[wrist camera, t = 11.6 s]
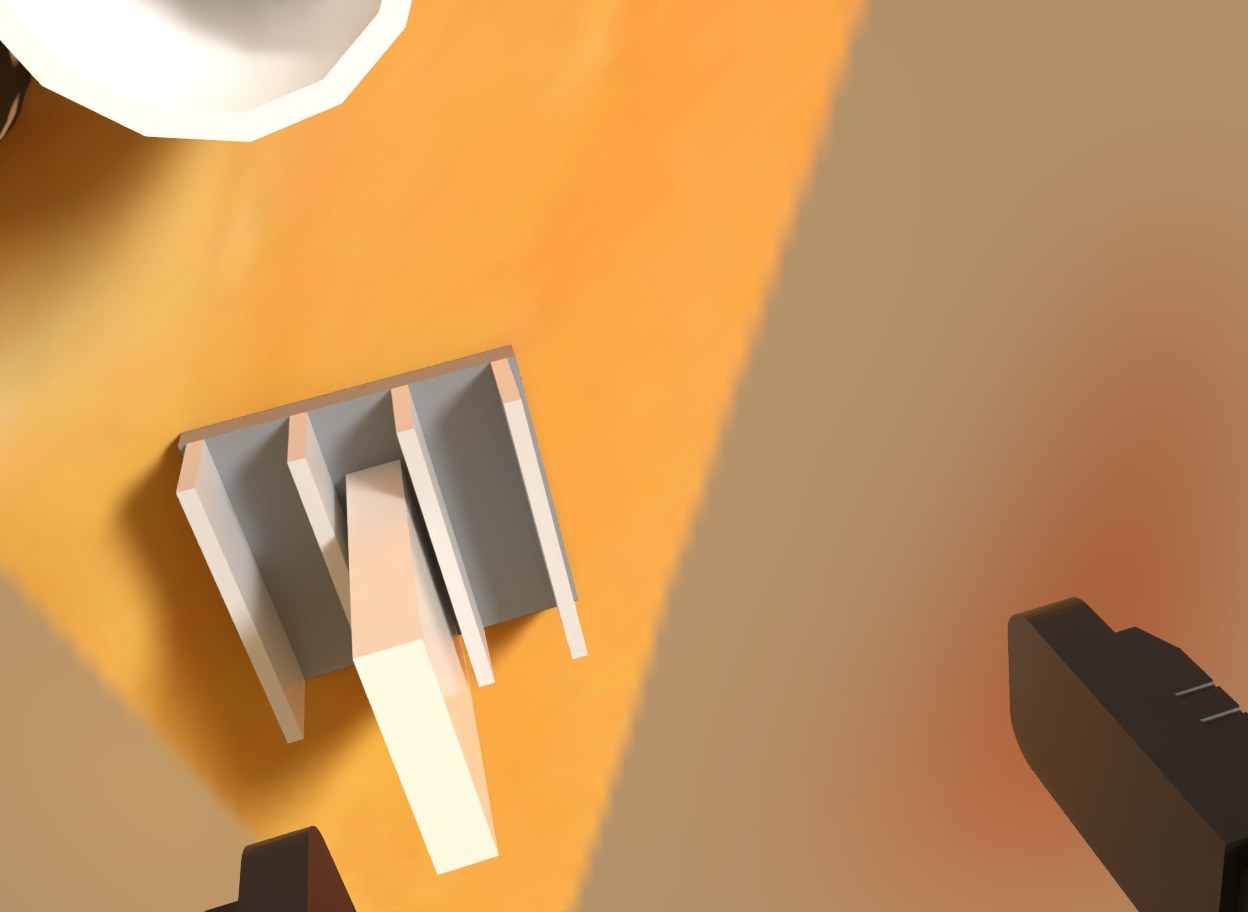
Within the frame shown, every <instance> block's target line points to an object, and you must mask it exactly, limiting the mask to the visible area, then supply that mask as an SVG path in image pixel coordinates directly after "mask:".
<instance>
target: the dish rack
mask: <svg viewBox="0 0 1248 912" xmlns="http://www.w3.org/2000/svg"><path fill="white" fill-rule="evenodd" d="M178 447H179V450H180V452H181V454H182V457H183V463H182V467H181V472H180V477H179V481H178V486H177V490H176V494H177V497H178V499H179V501H180V503H181V506H182V508H183V510H184V512H185V514H186V517H187V519H188V521H189V523H190V526H191V528H192V530H193V532H194V535H195V537H196V539H197V541H198V544H199V546H200V548H201V550H202V553H203V555H204V557H205V559H206V561H207V564H208V566H209V568H210V570H211V573H212V575H213V577H214V579H215V582H216V584H217V586H218V588H219V591H220V593H221V595H222V597H223V600H224V602H225V604H226V606H227V609H228V611H229V613H230V615H231V617H232V620H233V622H234V624H235V626H236V629H237V631H238V633H239V635H240V638H241V640H242V642H243V644H244V647H245V649H246V651H247V653H248V656H249V658H250V660H251V662H252V665H253V667H254V669H255V671H256V673H257V676H258V678H259V680H260V682H261V685H262V687H263V689H264V691H265V694H266V696H267V698H268V700H269V703H270V705H271V707H272V709H273V712H274V714H275V716H276V718H277V721H278V723H279V725H280V727H281V729H282V732H283V734H284V736H285V738H286V741H287V743H288V744H289V743H292V742H295V741H299V740H302V739H304V715H305V680H306V679H309V678H312V677H316V676H319V675H323V674H326V673H330V672H333V671H336V670H340V669H343V668H347V667H350V666H354V665H355V664H354V661H353V655H352V628H351V601H350V575H349V548H348V522H347V495H346V474H349V473H353V472H357V471H360V470H364V469H367V468H371V467H375V466H378V465H382V464H385V463H389V462H393V461H396V460H400V461H401V464H402V467H403V470H404V473H405V476H406V479H407V482H408V485H409V488H410V491H411V494H412V497H413V500H414V503H415V506H416V509H417V512H418V515H419V518H420V521H421V524H422V527H423V530H424V533H425V536H426V539H427V542H428V545H429V548H430V551H431V554H432V557H433V560H434V563H435V566H436V569H437V572H438V575H439V578H440V581H441V584H442V587H443V590H444V593H445V596H446V600H447V603H448V606H449V609H450V612H451V615H452V618H453V621H454V624H455V627H456V630H457V633H458V635H460V634H462V636H463V639H464V642H465V645H466V648H467V651H468V654H469V657H470V660H471V663H472V667H473V670H474V673H475V676H476V679H477V682H478V685H479V687H481V686H484V685H488V684H491V683H494V682H495V681H494V676H493V671H492V666H491V661H490V656H489V651H488V646H487V641H486V636H485V631H484V627H488V626H491V625H494V624H498V623H501V622H505V621H508V620H512V619H515V618H518V617H522V616H525V615H529V614H532V613H536V612H539V611H543V610H546V609H549V608H553V607H556V606H557V610H558V613H559V616H560V620H561V623H562V626H563V629H564V633H565V636H566V639H567V643H568V646H569V649H570V653H571V656H572V659H575V658H579V657H582V656H586V655H588V653H587V650H586V646H585V642H584V638H583V634H582V630H581V627H580V623H579V619H578V615H577V611H576V607H575V604H574V601H577V600H578V597H577V593H576V590H575V586H574V582H573V578H572V574H571V570H570V566H569V562H568V559H567V555H566V551H565V547H564V543H563V539H562V535H561V532H560V528H559V524H558V520H557V516H556V512H555V508H554V504H553V501H552V497H551V493H550V489H549V485H548V481H547V477H546V473H545V470H544V466H543V462H542V458H541V454H540V450H539V446H538V443H537V439H536V435H535V431H534V427H533V423H532V419H531V415H530V412H529V408H528V404H527V400H526V396H525V392H524V388H523V384H522V381H521V377H520V373H519V369H518V365H517V361H516V357H515V354H514V351H513V349H512V346H511V345H510V346H506V347H502V348H499V349H495V350H491V351H487V352H484V353H480V354H476V355H472V356H469V357H465V358H461V359H457V360H454V361H450V362H446V363H442V364H439V365H435V366H431V367H427V368H424V369H420V370H416V371H412V372H409V373H405V374H401V375H398V376H394V377H390V378H386V379H383V380H379V381H375V382H371V383H368V384H364V385H360V386H356V387H353V388H349V389H345V390H341V391H338V392H334V393H330V394H326V395H323V396H319V397H315V398H311V399H308V400H304V401H300V402H296V403H293V404H289V405H285V406H281V407H278V408H274V409H270V410H266V411H263V412H259V413H255V414H251V415H248V416H244V417H240V418H236V419H233V420H229V421H225V422H222V423H218V424H214V425H210V426H207V427H203V428H199V429H195V430H192V431H188V432H184V433H181V435H180V439H179V444H178Z"/></svg>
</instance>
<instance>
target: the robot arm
mask: <svg viewBox="0 0 1248 912" xmlns="http://www.w3.org/2000/svg"><path fill="white" fill-rule="evenodd" d="M1008 650H1009V651H1008V654H1009V684H1010V685H1009V686H1010V712H1011V721H1012V726H1013V730H1014V733H1015V736H1016V739H1017V742H1018V744H1019V747H1020V749H1021V751H1022V753H1023V755H1024V757H1025V759H1026V761H1027V763H1028V764H1029V766H1030V767H1031V769H1032V770H1033V771H1034V773H1035V774H1036V775H1037V777H1038V778H1039V779H1040V781H1041V782H1042V783H1043V785H1044V786H1045V787H1046V789H1047V790H1048V791H1049V793H1050V794H1051V795H1052V797H1053V798H1054V799H1055V801H1056V802H1057V803H1058V805H1059V806H1060V807H1061V809H1062V810H1063V811H1064V813H1065V814H1066V815H1067V817H1068V818H1069V819H1070V821H1071V822H1072V823H1073V825H1074V826H1075V827H1076V828H1077V830H1078V831H1079V833H1080V834H1081V835H1082V837H1083V838H1084V839H1085V841H1086V842H1087V843H1088V845H1089V846H1090V847H1091V849H1092V850H1093V851H1094V852H1095V854H1096V855H1097V857H1098V858H1099V859H1100V861H1101V862H1102V863H1103V865H1104V866H1105V867H1106V869H1107V870H1108V871H1109V872H1110V874H1111V875H1112V877H1113V878H1114V879H1115V880H1116V882H1117V883H1118V885H1119V886H1120V887H1121V889H1122V890H1123V891H1124V892H1125V894H1126V895H1127V897H1128V898H1129V899H1130V901H1131V902H1132V903H1133V905H1134V906H1135V907H1136V908H1137V910H1138V911H1139V912H1248V713H1247V712H1245V713H1242V712H1241V710H1240V708H1239V705H1238V704H1237V703H1236V702H1235V701H1234V700H1233V699H1232V698H1231V697H1230V696H1229V695H1228V694H1227V693H1226V692H1225V691H1224V690H1223V689H1222V688H1221V687H1220V686H1218V687H1215V685H1214V684H1213V680H1212V679H1211V678H1210V677H1209V676H1208V675H1207V674H1206V673H1205V672H1204V671H1203V670H1202V669H1201V668H1200V667H1199V666H1198V665H1196V663H1194V662H1193V661H1192V660H1191V659H1190V658H1189V657H1188V656H1187V655H1186V654H1185V653H1184V652H1183V651H1182V650H1181V649H1180V648H1178V647H1176V646H1174V645H1172V644H1170V643H1168V642H1165V641H1163V640H1161V639H1159V638H1157V637H1155V636H1153V635H1151V634H1149V633H1147V632H1145V631H1143V630H1140V629H1139V628H1137V627H1132V628H1129V629H1126V630H1123V631H1119V632H1116V633H1115V632H1114V631H1113V630H1112V629H1111V628H1110V627H1109V626H1108V625H1107V624H1106V623H1105V622H1104V621H1103V620H1102V619H1101V618H1100V617H1099V616H1098V615H1097V614H1096V613H1095V612H1094V611H1093V610H1092V609H1091V608H1090V607H1089V606H1088V605H1087V604H1086V603H1085V602H1084V601H1082V600H1081V599H1079V598H1076V597H1071V598H1068V599H1065V600H1061V601H1058V602H1055V603H1052V604H1048V605H1046V606H1042V607H1038V608H1035V609H1032V610H1029V611H1025V612H1022V613H1019V614H1015V615H1013V616H1012V617H1011V618H1010V620H1009V623H1008ZM240 873H241V874H240V884H239V885H240V886H239V897H238V901H236V902H233V903H230V904H226V905H223V906H220V907H216V908H213V909H210V910H207V911H205V912H356V910H355V908H354V905H353V903H352V901H351V899H350V896H349V894H348V892H347V890H346V888H345V885H344V883H343V881H342V879H341V877H340V874H339V872H338V870H337V868H336V865H335V863H334V861H333V859H332V857H331V854H330V852H329V850H328V848H327V845H326V843H325V841H324V839H323V837H322V835H321V833H320V831H319V830H318V829H317V828H316V827H315V826H310V827H307V828H304V829H301V830H297V831H294V832H291V833H287V834H284V835H281V836H277V837H274V838H271V839H268V840H264V841H261V842H258V843H254V844H251V845H248V846H246V847H245V848H244V850H243V854H242V860H241V872H240Z"/></svg>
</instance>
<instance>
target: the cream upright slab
mask: <svg viewBox="0 0 1248 912" xmlns="http://www.w3.org/2000/svg"><path fill="white" fill-rule="evenodd" d="M346 495H347V522H348V548H349V575H350V601H351V628H352V655H353V661H354V664H355V666H356V669H357V671H358V674H359V677H360V679H361V682H362V684H363V687H364V689H365V692H366V694H367V697H368V699H369V702H370V704H371V707H372V709H373V712H374V715H375V717H376V720H377V722H378V725H379V727H380V730H381V732H382V735H383V737H384V740H385V742H386V745H387V747H388V750H389V752H390V755H391V758H392V760H393V763H394V765H395V768H396V770H397V773H398V775H399V778H400V780H401V783H402V785H403V788H404V790H405V793H406V796H407V798H408V801H409V803H410V806H411V808H412V811H413V813H414V816H415V818H416V821H417V823H418V826H419V828H420V831H421V834H422V836H423V839H424V841H425V844H426V846H427V849H428V851H429V854H430V856H431V859H432V861H433V864H434V866H435V869H436V871H437V874H442V873H445V872H448V871H451V870H454V869H458V868H461V867H464V866H467V865H470V864H473V863H477V862H480V861H483V860H486V859H489V858H493V857H496V856H499V855H498V849H497V843H496V837H495V832H494V826H493V820H492V814H491V808H490V803H489V797H488V791H487V785H486V779H485V773H484V768H483V762H482V756H481V750H480V744H479V739H478V733H477V727H476V721H475V715H474V709H473V704H472V698H471V692H470V686H469V680H468V675H467V669H466V663H465V657H464V651H463V648H462V645H461V642H460V639H459V636H458V633H457V630H456V627H455V624H454V621H453V618H452V615H451V612H450V609H449V606H448V603H447V600H446V596H445V593H444V590H443V587H442V584H441V581H440V578H439V575H438V572H437V569H436V566H435V563H434V560H433V557H432V554H431V551H430V548H429V545H428V542H427V539H426V536H425V533H424V530H423V527H422V524H421V521H420V518H419V515H418V512H417V509H416V506H415V503H414V500H413V497H412V494H411V491H410V488H409V485H408V482H407V479H406V476H405V473H404V470H403V467H402V464H401V461H400V460H396V461H393V462H389V463H385V464H382V465H378V466H375V467H371V468H367V469H364V470H360V471H357V472H353V473H349V474H346Z"/></svg>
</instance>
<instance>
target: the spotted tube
mask: <svg viewBox="0 0 1248 912" xmlns="http://www.w3.org/2000/svg"><path fill="white" fill-rule="evenodd" d="M30 81H31V73H30V72H29V71H28V70H27V69H26V68H25V67H24V66H23V64H22V63H21V62H20V61H19V60H18V59H17V58H16V57H15V56H14V55H13V53H12V52H11V51H10V50H9V49H8V48H7V47H6V46H5V45H4V44H3V43H2V41H1V40H0V140H1V139H2V138H3V137H4V136H5V135H6V134H7V133H8V131H9V130H10V129H11V128H12V126H13V124H14V122H15V121H16V119H17V117H18V115H19V113H20V111H21V110H22V108H23V106H24V102H25V99H26V95H27V92H28V88H29V84H30Z"/></svg>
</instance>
